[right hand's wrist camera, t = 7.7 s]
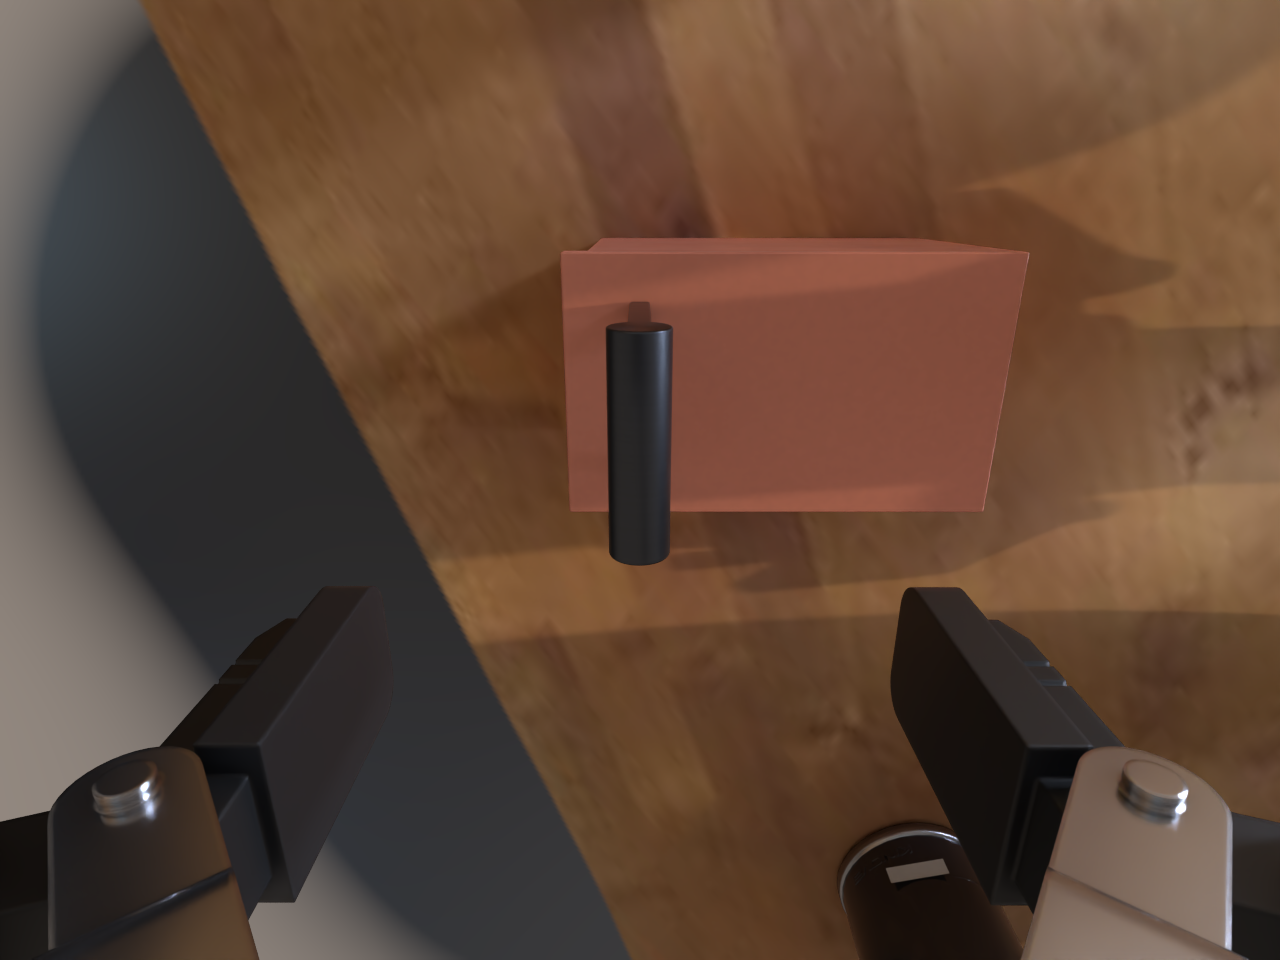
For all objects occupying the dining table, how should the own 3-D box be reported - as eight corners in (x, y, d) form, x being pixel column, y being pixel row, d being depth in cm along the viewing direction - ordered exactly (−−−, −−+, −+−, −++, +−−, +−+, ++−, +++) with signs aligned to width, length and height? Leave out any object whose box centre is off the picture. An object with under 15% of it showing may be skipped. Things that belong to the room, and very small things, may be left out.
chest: (604, 431, 38) (592, 503, 29) (600, 238, 35) (586, 250, 26) (893, 431, 38) (974, 503, 29) (918, 238, 35) (1018, 250, 26)
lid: (571, 504, 29) (546, 611, 21) (562, 250, 26) (528, 271, 18) (974, 504, 29) (1094, 612, 21) (1018, 250, 26) (1179, 270, 18)
